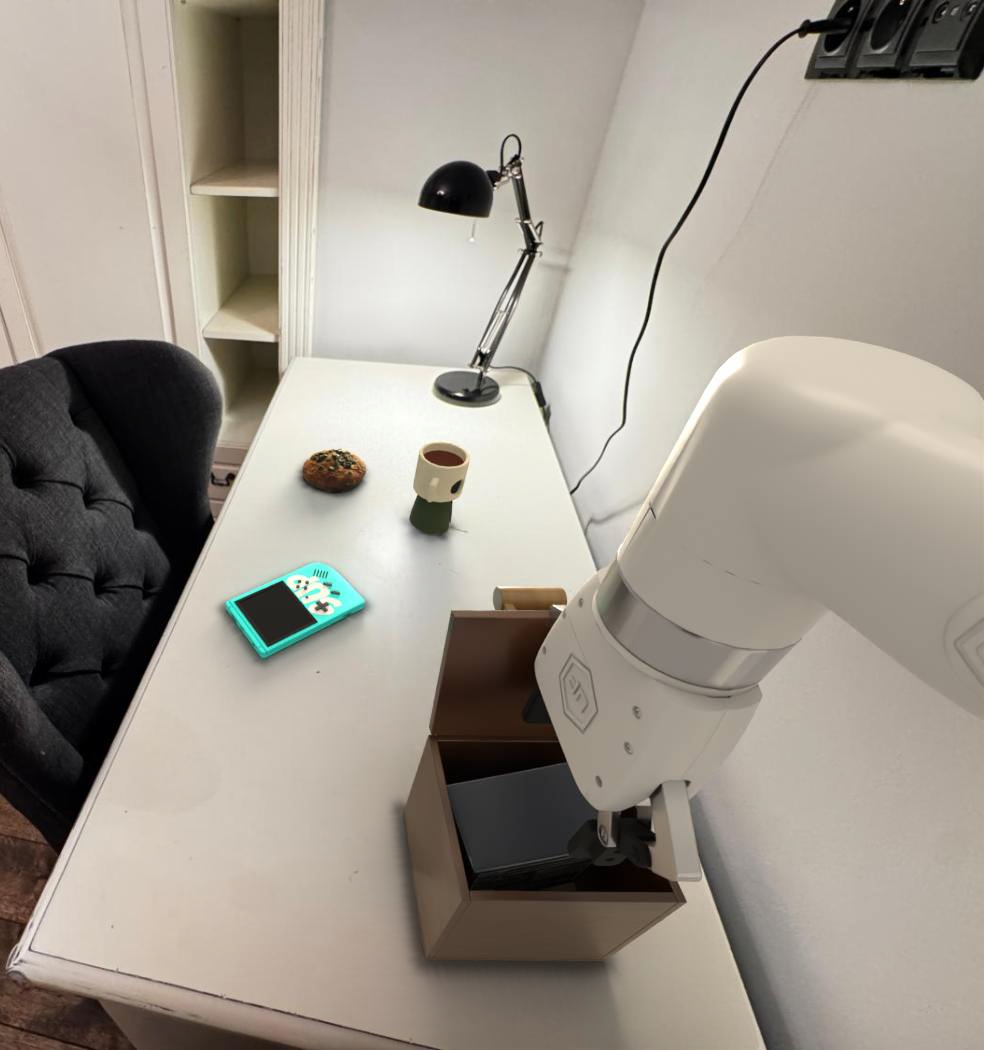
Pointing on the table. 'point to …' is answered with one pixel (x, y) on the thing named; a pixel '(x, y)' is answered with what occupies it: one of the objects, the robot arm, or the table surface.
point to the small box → (520, 829)
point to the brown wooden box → (516, 916)
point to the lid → (493, 664)
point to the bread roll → (334, 470)
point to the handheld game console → (293, 607)
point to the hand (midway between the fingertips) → (565, 779)
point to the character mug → (438, 485)
